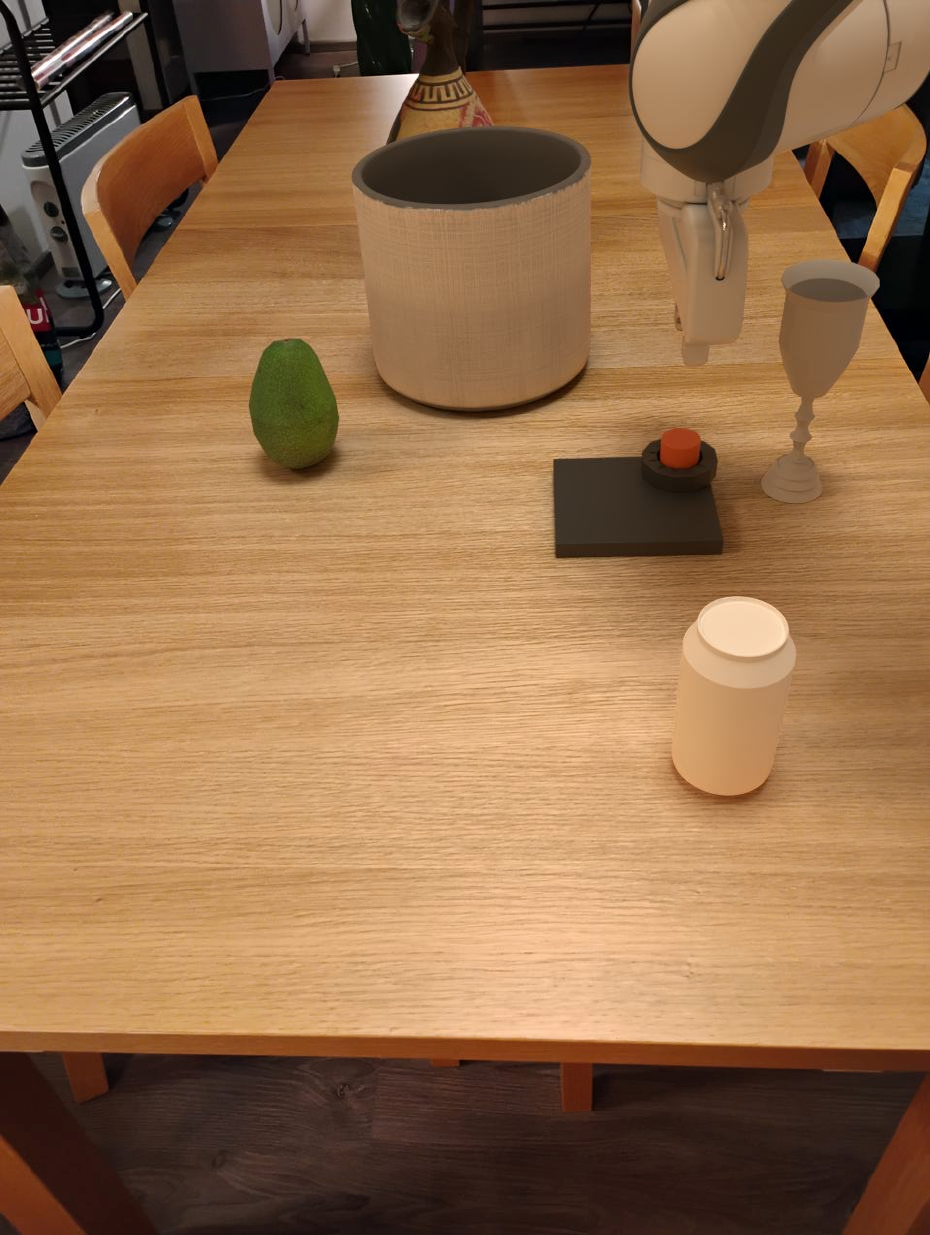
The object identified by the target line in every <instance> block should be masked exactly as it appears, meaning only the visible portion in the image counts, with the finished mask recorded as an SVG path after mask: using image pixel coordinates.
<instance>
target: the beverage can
mask: <svg viewBox="0 0 930 1235" xmlns="http://www.w3.org/2000/svg"><path fill="white" fill-rule="evenodd" d="M789 628H790V627H789V624H788V621H787V619H786V617H785V616H784V615H783V613H782V612H780V610H779V609H778V608H776V607H775V606H773V605H771V604H770V603H768V602H766V601H763V600H761V599H758V598H754V597H751V596H750V597H749V596H742V595H741V596H733V595H732V596H725V597H721V598H718V599H715V600H712V601H711V602H709V603H708V604H707V605H705V606H704V607H703V608H702V609H701V611H700V612H699V614H698V616H697V619H696V620H695V621H694V622H693V623H692V624H691V625H690V626H689V627H688V629H687V630H686V632H685V634H684V636H683V639H682V644H681V655H680V663H679V672H678V682H677V692H676V698H675V699H676V701H675V709H674V719H673V728H672V729H673V730H672V737H671V758H672V762H673V765H674V767H675V769H676V771H677V772H678V773H679V775H680V776H681V777H682V778H683V779H684V780H685V781H686V782H687V783H689V784H690V785H692V786H693V787H695V788H696V789H698V790H701V791H703V792H705V793H709V794H711V795H717V796H739V795H743V794H747V793H750V792H751V791H753V790H755V789H757V788H759V787H760V786H761V785H762V784H764V783H765V782H766V780H767V779H768V777H769V775H770V773H771V772H772V768H773V765H774V761H775V757H776V752H777V748H778V743H779V739H780V736H781V735H780V734H781V730H782V726H783V721H784V718H785V712H786V708H787V703H788V698H789V694H790V689H791V686H792V685H791V684H792V680H793V676H794V671H795V666H796V662H797V650H796V646H795V642H794V641H793V638H792V637H791V635H790V629H789Z"/></svg>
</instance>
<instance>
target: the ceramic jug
mask: <svg viewBox="0 0 930 1235" xmlns="http://www.w3.org/2000/svg"><path fill="white" fill-rule="evenodd" d="M474 1H475V0H454V3H453V4H454V6H453V11H451V0H400V2H399V3H398V6H397V8H396V13H395V21H396V25H397V27H398V29H399V31H400V32H401V33H402V34H404V35H406V36H409V37H411V38H414V39H416V40H418V41H421V42H423V43H424V44H425V47H426V48H425V49H426V54H425V58H424V61H423V62H422V65H421V66H420V68H419V71H418V76H417V78H416V79H415V80H414V82H413V84H412V85H411V86H410V88H409V90H408V93H407V95H406V96H405V98H404V100H403V101H402V103H401V106H400V109H398V110H399V111H398V113H397V114H396V116H395V119H394V121H393V123H392V125H391V127H390V131H389V134H388V137H387V139H386V143H385V145H387V144H390V143H392V142H395V141H398V140H401V139H404V138H407V137H411V136H415V135H419V134H423V133H428V132H433V131H439V130H445V129H452V128H461V127H474V126H495V123H494V121H493V120H492V118H491V116H490V114H489V113H488V111H487V110H486V108H485V106H484V105H483V103H482V101H481V99H480V98H479V96H478V94H477V93H476V91H475V90H474V88H473V87H472V85H471V84H470V83H469V81H468V79H467V77H466V76H467V65H466V56H467V54H468V44H469V42H468V41H469V36H470V31H471V26H472V17H473V9H474Z"/></svg>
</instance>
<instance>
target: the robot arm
mask: <svg viewBox="0 0 930 1235" xmlns="http://www.w3.org/2000/svg"><path fill="white" fill-rule="evenodd" d="M929 75H930V0H648V5H647V8H646V11H645V13H644V14H643V17H642V19H641V22H640V24H639V26H638V30H637V33H636V36H635V40H634V43H633V47H632V51H631V56H630V61H629V70H628V96H629V101H630V106H631V110H632V114H633V118H634V120H635V123H636V124H637V126H638V128H639V130H640V133H641V146H640V147H641V148H640V167H639V182H640V185H641V187H643V189H644V190H646V191H647V192H648V193H650V194H652V195H653V196H655V197H656V213H657V214H656V215H657V224H658V232H659V237H660V240H661V244H662V249H663V253H664V257H665V261H666V265H667V269H668V274H669V279H670V282H671V286H672V289H673V295H674V296H673V297H674V298H673V299H674V307H673V323H674V326H675V329H676V331H679V332H682V333H683V335H682V341H681V357H682V362H683V364H684V366H686V367H699V366H700V367H702V366H705V365H706V364H707V363H708V361H709V353H710V347H711V346H712V347H713V346H725V345H733V344H736V343H737V341H738V340H739V337H740V335H741V333H742V329H743V325H744V324H743V322H744V312H745V302H746V292H747V280H748V270H749V269H748V268H749V250H750V248H749V247H750V245H749V244H750V243H749V242H750V240H749V230H748V226H747V224H746V221H745V219H744V218H745V217H744V216H743V213H744V212H746V211H747V210H748V209H749V206H750V202H751V197H752V196H756V195H758V194H760V193H761V192H763V191H764V190H766V189H767V188H768V187H769V186H770V184H771V183H772V179H773V172H774V165H775V157H776V156H779V155H782V154H784V153H787V152H790V151H793V150H796V149H799V148H802V147H805V146H807V145H810V144H813V143H815V142H818V141H821V140H824V139H827V138H829V137H832V136H835V135H838V134H840V133H842V132H845V131H847V130H850V129H853V128H856V127H858V126H862V125H865V124H867V123H870V122H872V121H874V120H877V119H879V118H881V117H883V116H885V115H886V114H888V113H890V112H892V111H894V110H896V109H898V108H900V107H902V106H903V105H904V104H906V103H907V102H909V100H911V99H912V98H913V97H914V96H915V95H916V94H917V92H918V91H919V90H920V89H921V88H922V87H923V85H924V83H925V82H926V80H927V79H928V77H929Z"/></svg>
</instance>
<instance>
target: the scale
mask: <svg viewBox="0 0 930 1235" xmlns="http://www.w3.org/2000/svg"><path fill="white" fill-rule="evenodd" d="M660 450H661V438H658V439H655V440H653V441H651V442H649V443H648V444H647V445H646V446H645V448H644V449H643V450H642V451H641V456H612V457H611V456H609V457H577V458H576V457H575V458H574V457H573V458H553V459H552V463H553V464H552V466H553V467H552V469H553V474H552V475H553V477H552V478H553V506H554V507H553V510H554V511H553V512H554V544H555V545H554V550H555V551H554V552H555V554H554V555H555V558H588V557H589V558H592V557H595V558H596V557H637V556H638V557H639V556H641V557H642V556H685V555H686V556H687V555H688V556H690V555H696V556H697V555H722V554H723V550H724V542H725V539H724V536H723V531H722V527H721V522H720V519H719V518H720V517H719V512H718V509H717V505H716V501H715V500H716V499H715V496H714V492H713V487H712V482H713V480H714V479H715V478H716V476H717V470H718V462H719V460H718V456H717V451H716V449H715V448H714V447H713V446H711V445H710V444H709V443H707V441H705V440H702V439H701V444H700V453H699V461H698V463H697V464H696V465H695V466H693V467H690V468H680V469H676V468H672V467H669V466H665V465H663V464H662V463H661V461H660Z"/></svg>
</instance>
